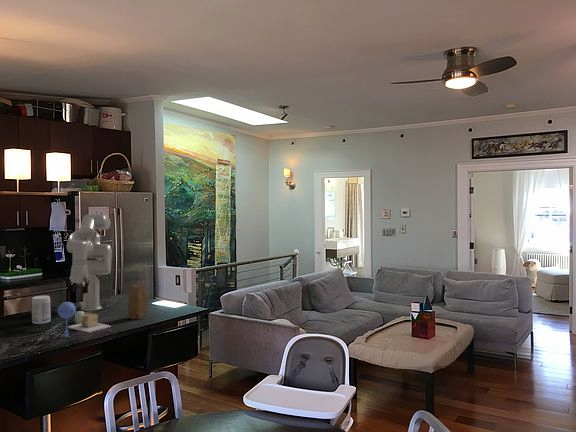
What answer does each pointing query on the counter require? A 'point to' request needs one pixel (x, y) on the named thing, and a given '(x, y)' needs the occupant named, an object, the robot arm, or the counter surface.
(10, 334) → the counter surface
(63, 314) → the baby rattle
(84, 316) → the oak cube
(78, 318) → the sage drum
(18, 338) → the counter surface
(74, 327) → the plan board
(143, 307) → the block
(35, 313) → the supplement tub
